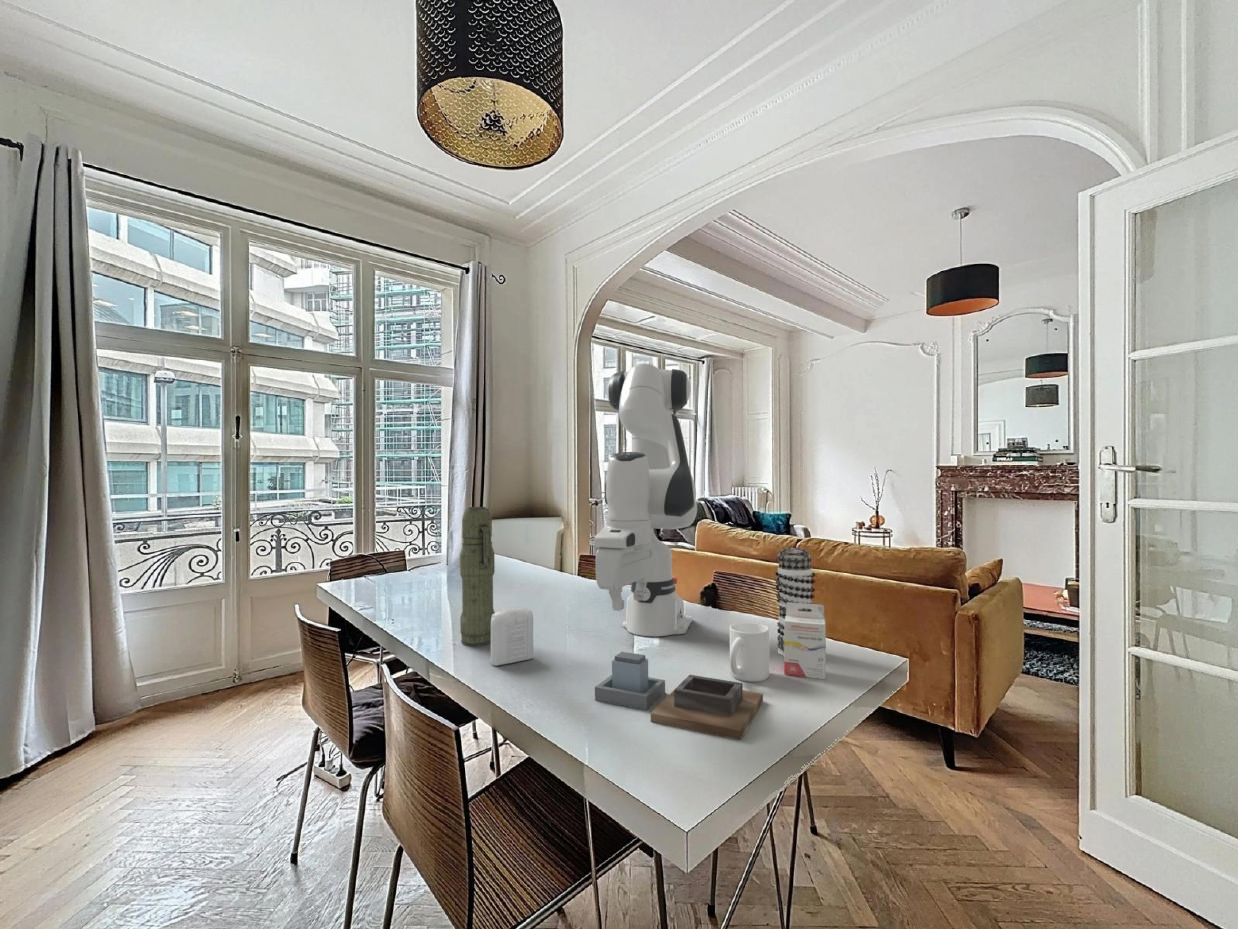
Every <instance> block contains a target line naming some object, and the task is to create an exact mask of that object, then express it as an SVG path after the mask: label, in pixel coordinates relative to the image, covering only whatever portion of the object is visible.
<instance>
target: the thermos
mask: <svg viewBox="0 0 1238 929" xmlns="http://www.w3.org/2000/svg"><path fill="white" fill-rule="evenodd" d="M492 523H493V518H492V514H491V512H490V509H489V508H487V507H486V506H470V507H469V506H468V507H467V508H465V509H464V512H463V515H462V518H461V536H462V547H461V550H460V554H459V574H460V577H461V588H462V589H461V593H462V594H461V596H462V597H461V598H462V599H461V601H462V602H461V603H462V606H461V608H462V610H461V611H462V612H461V614H460V618H459V619H460V620H459V622H460V630H459V632H460V636H461V640H460V642H461V644H462V643H463V644H462V645H464V644H465V646H468V645H470V646H471V647H473V646H474V647H477V645H479V646H484V644H486V645H488V644H487V643H489V644H491V617H492V615H493V614H494V613H496V612H495V610H494V575H495V568H496V566H495V564H496V563H495V551H494V547H493V541H492V537H493V527H492V525H493V524H492ZM472 645H473V646H472ZM470 646H469V647H470Z"/></svg>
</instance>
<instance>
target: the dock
mask: <svg viewBox="0 0 1238 929" xmlns="http://www.w3.org/2000/svg"><path fill="white" fill-rule="evenodd" d="M763 702H764V693H762V692H755V691H751V690H746V689H745V690H744V689H743V682H737V681H731V680H725V679H721V678H712V677H709V676H708V677H705V676H701V675H694V674H689V675H687V677H686V678H684V679H683V680H682V681H681V682H680V683H679V684H678V686H676V687H675V688H674V690H672V691H671V692H670V693H669V694H667V696H666V697H665V698H664V699H663V700H662V701H661V702H660V703H659V704H658V705H657V706H656V707H655V708H654V709H653V710H652V711H651V712H650V722H652V723H656V724H661V725H665V726H671V727H676V728H681V729H686V730H689V731H690V730H691V731H696V732H701V733H707V734H710V735H715V736H718V737H719V736H720V737H724V738H729V739H734V740H739V741H740V740H741V739H742V737H744V734H745V733H746V731H747V729H748V728H749V726H750V724H751V723H752V721H753V719H754V718H755V715H756V714H757V712H758V711H759V709H760V708H761V705H762V704H763Z"/></svg>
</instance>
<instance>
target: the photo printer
mask: <svg viewBox="0 0 1238 929" xmlns="http://www.w3.org/2000/svg"><path fill="white" fill-rule="evenodd" d="M532 659H534V613H533V611H532V609H530V608H528V607H527V608H526V607H519V606H518V607H517V606H516V607H508V608H504V609H502V610H499V611H497V612H495V613H494V614H493V615H492V617H491V643H490V664H491V665H492V666H502V665H503V666H504V665H508V664H513V663H518V662H522V661H527V660H532Z"/></svg>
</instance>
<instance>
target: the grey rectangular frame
mask: <svg viewBox="0 0 1238 929" xmlns="http://www.w3.org/2000/svg"><path fill="white" fill-rule="evenodd" d="M648 686H649V690H648V691H647V692H645V693H644V694H643V693H637V692H632V691H626V690H621V689H615V688H612V674H611V675H609V676H608V677H607V678H605V679H603V681H601V682H600V683H598V684H597V685H596V686H594V701H599V702H603V703H609V704H614V705H617V706H618V705H619V706H623V707H624V706H625V707H629V708H634V709H639V710H643V711H648V709H650V708H651V707H652V706H653V705H654V704H655V703H656V702H657V701H658V700H659V699H660V698H662V696H663V695H665V694H666V679H660V678H656V677H655V678H654V677H650V676H648Z"/></svg>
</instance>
